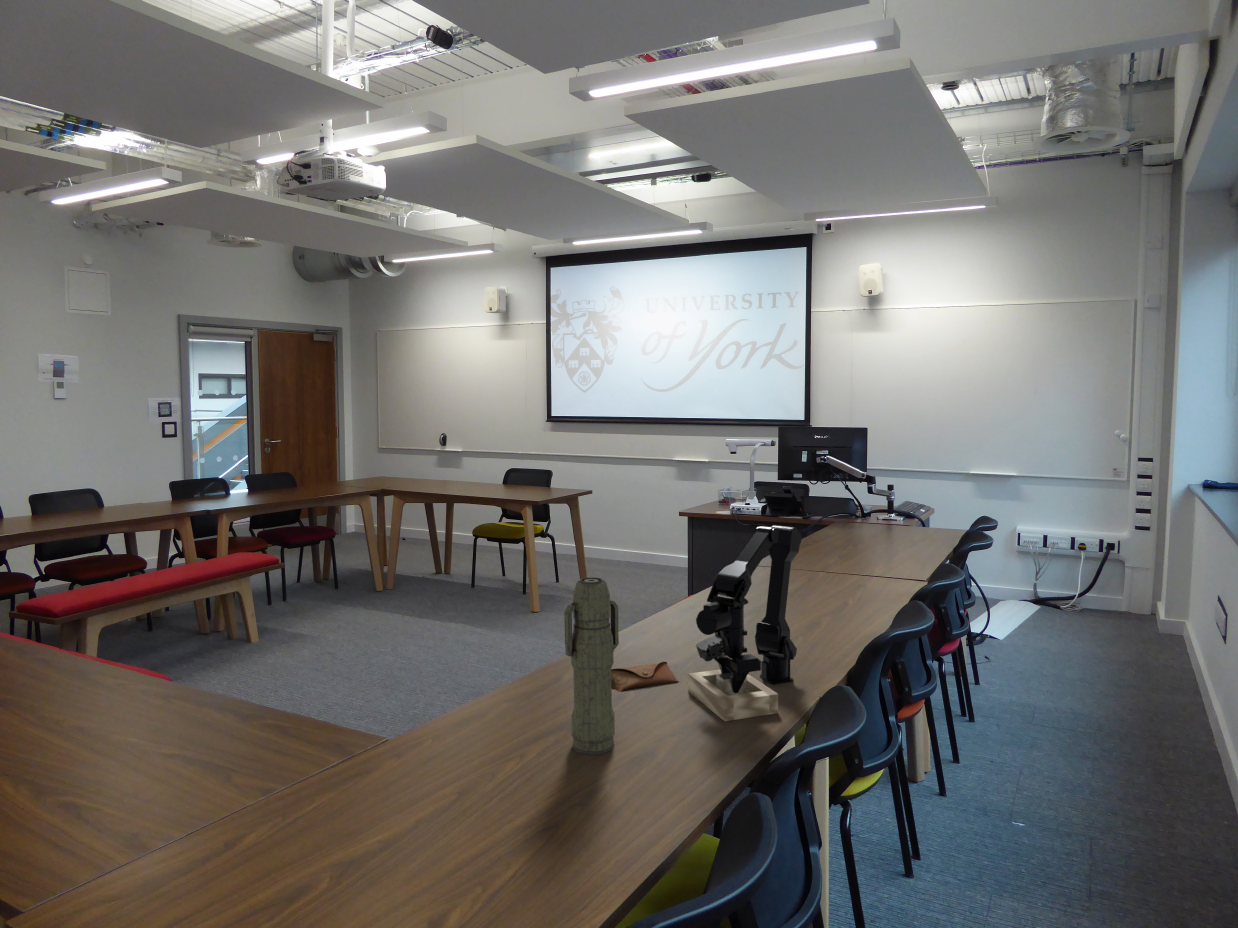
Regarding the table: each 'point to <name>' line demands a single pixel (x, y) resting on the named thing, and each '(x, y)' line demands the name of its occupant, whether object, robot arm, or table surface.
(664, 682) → the sunglasses case
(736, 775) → the table surface
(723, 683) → the grey rectangular block
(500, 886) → the table surface
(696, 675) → the well
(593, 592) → the thermos
